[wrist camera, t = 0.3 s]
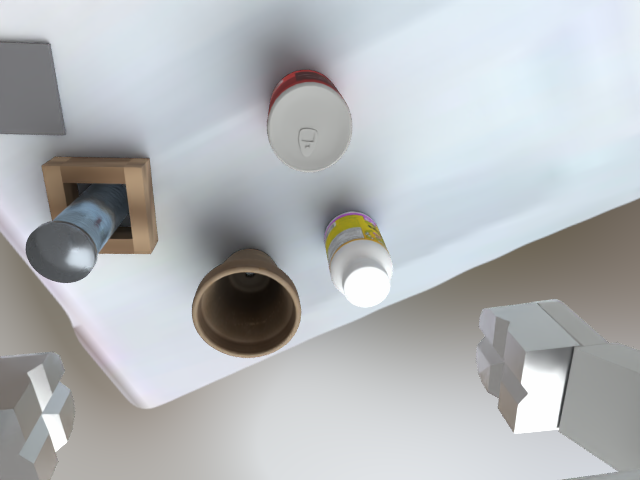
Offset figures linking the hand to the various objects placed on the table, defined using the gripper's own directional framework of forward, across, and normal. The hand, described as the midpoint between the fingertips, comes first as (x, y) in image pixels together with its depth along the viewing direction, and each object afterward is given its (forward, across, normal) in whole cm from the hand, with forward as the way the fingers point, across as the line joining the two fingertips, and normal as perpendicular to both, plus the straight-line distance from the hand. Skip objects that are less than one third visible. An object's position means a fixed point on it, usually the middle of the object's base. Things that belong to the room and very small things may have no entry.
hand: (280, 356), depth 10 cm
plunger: (+49, +18, +12) cm, 53 cm away
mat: (+48, +25, -1) cm, 55 cm away
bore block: (+48, +18, +12) cm, 53 cm away
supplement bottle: (+48, -9, +18) cm, 52 cm away
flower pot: (+48, +3, +22) cm, 53 cm away
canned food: (+47, -5, +2) cm, 48 cm away
